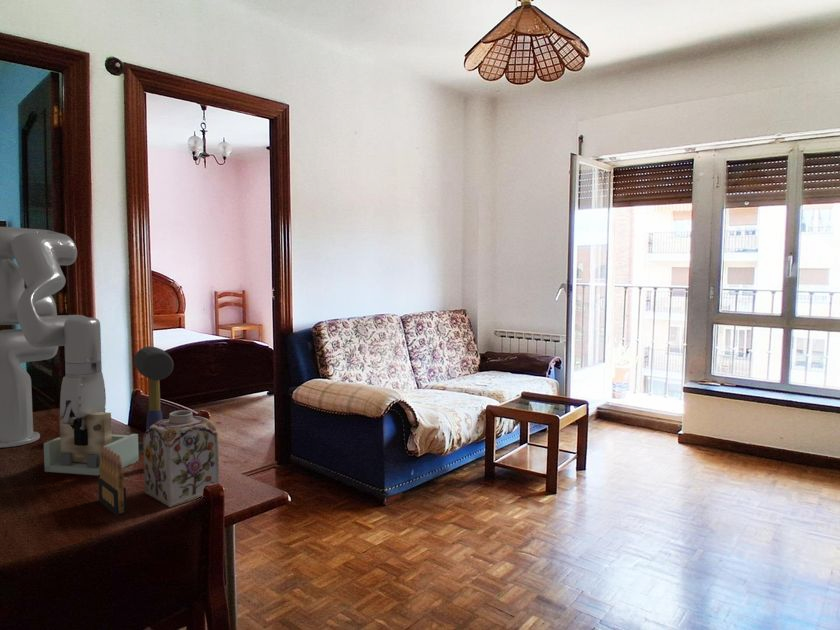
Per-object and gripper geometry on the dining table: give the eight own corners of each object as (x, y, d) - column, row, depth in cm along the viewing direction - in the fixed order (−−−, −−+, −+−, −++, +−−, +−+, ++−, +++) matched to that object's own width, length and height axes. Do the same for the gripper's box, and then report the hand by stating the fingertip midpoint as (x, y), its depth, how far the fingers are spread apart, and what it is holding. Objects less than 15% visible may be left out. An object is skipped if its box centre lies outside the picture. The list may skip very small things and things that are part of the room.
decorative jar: (194, 479, 130) (192, 403, 129) (221, 491, 123) (220, 412, 122) (142, 494, 121) (140, 413, 120) (168, 509, 114) (166, 422, 112)
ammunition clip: (98, 500, 118) (96, 445, 117) (108, 498, 119) (106, 443, 118) (116, 515, 110) (115, 456, 109) (126, 513, 112) (125, 454, 111)
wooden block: (57, 462, 135) (55, 413, 134) (68, 457, 138) (66, 410, 137) (102, 465, 133) (101, 416, 132) (112, 460, 136) (110, 412, 135)
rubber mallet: (178, 472, 134) (175, 349, 132) (144, 478, 130) (141, 351, 128) (166, 458, 144) (163, 343, 142) (134, 463, 140) (131, 345, 138)
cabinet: (44, 471, 134) (43, 443, 133) (79, 456, 145) (78, 430, 144) (108, 476, 131) (107, 447, 131) (138, 460, 142) (138, 434, 142)
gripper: (93, 362, 143) (96, 432, 144) (42, 374, 127) (45, 452, 128) (120, 364, 142) (122, 434, 143) (72, 375, 126) (74, 454, 127)
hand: (85, 442), depth 136 cm, fingers closed on wooden block, 2 cm apart
